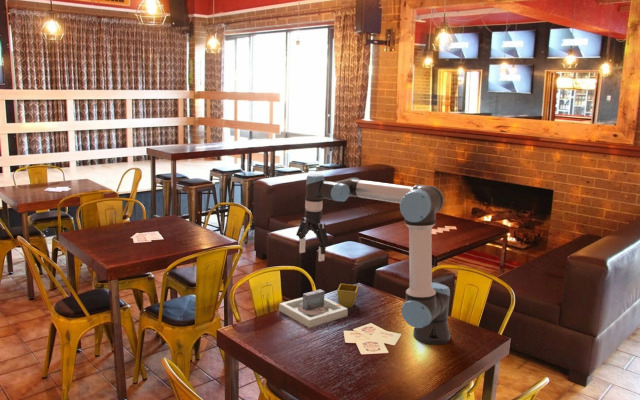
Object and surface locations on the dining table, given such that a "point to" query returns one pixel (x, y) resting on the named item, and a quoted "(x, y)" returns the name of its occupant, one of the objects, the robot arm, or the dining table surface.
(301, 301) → the white shallow square tray
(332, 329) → the dining table surface
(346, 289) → the flower pot
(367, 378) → the dining table surface
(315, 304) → the dial
